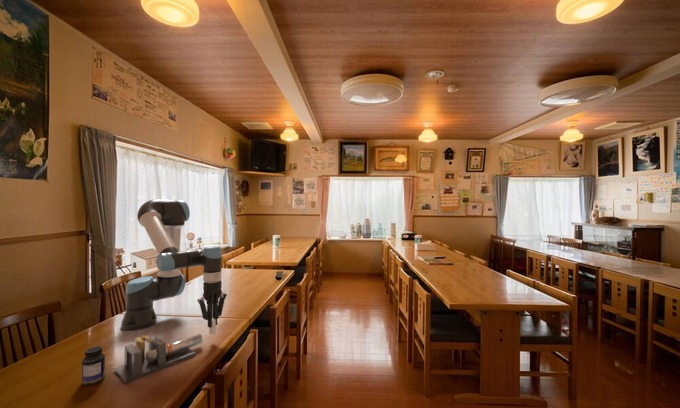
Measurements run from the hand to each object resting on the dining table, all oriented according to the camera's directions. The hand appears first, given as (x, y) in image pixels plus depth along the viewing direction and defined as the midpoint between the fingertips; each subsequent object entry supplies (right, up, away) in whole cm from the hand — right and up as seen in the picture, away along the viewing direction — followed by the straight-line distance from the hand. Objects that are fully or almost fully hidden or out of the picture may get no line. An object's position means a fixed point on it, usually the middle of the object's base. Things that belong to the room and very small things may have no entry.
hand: (212, 333), depth 132 cm
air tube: (-10, -2, -12) cm, 16 cm away
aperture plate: (-18, -2, -20) cm, 27 cm away
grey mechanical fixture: (-14, -4, -18) cm, 23 cm away
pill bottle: (-29, -4, -29) cm, 41 cm away
